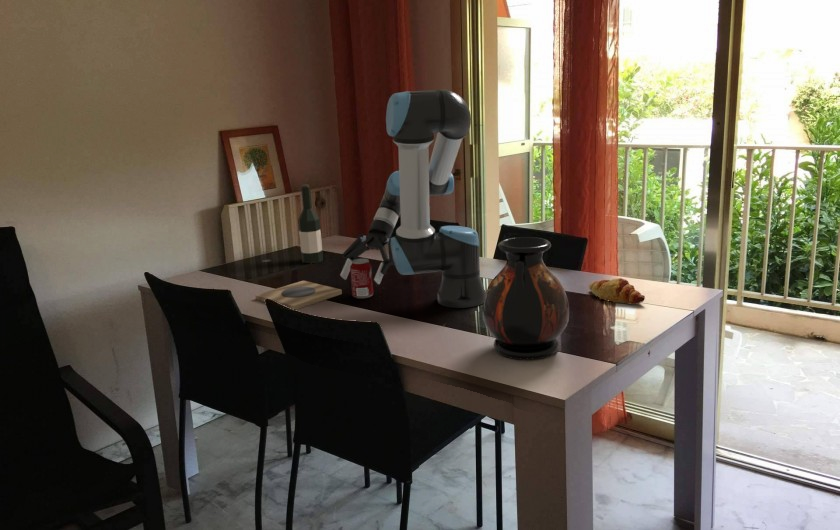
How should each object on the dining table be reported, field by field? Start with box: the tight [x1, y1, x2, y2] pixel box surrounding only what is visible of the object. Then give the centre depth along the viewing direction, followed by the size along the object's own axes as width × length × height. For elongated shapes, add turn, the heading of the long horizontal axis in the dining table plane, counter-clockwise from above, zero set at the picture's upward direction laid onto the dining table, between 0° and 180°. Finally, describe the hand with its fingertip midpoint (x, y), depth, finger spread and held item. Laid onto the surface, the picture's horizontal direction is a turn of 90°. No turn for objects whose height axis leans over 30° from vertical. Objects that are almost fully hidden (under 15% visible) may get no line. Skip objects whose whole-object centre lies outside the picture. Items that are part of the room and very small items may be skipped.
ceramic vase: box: [481, 236, 570, 361], centre depth 182 cm, size 22×22×28 cm
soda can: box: [349, 258, 374, 300], centre depth 235 cm, size 7×7×12 cm
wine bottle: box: [297, 184, 324, 265], centre depth 282 cm, size 8×8×30 cm
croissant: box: [588, 277, 646, 305], centre depth 221 cm, size 21×10×8 cm, turn 34°
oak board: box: [255, 280, 343, 310], centre depth 240 cm, size 20×20×2 cm
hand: (359, 279), depth 235 cm, fingers open, 13 cm apart
